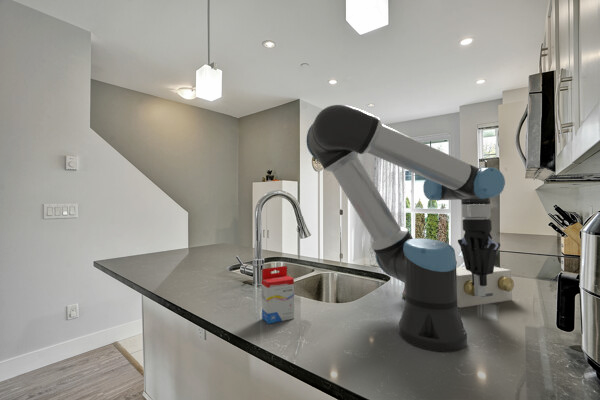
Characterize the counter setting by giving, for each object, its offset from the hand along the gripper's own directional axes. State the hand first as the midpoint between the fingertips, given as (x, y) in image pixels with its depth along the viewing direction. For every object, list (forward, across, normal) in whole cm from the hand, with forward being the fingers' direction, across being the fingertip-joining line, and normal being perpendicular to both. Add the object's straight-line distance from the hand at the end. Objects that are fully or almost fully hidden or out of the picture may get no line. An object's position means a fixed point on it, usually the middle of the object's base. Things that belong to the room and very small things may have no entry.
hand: (480, 295), depth 84 cm
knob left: (+1, +6, 0) cm, 6 cm away
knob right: (+1, +6, -14) cm, 15 cm away
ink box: (+4, +14, +60) cm, 62 cm away
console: (+4, +8, -7) cm, 12 cm away
